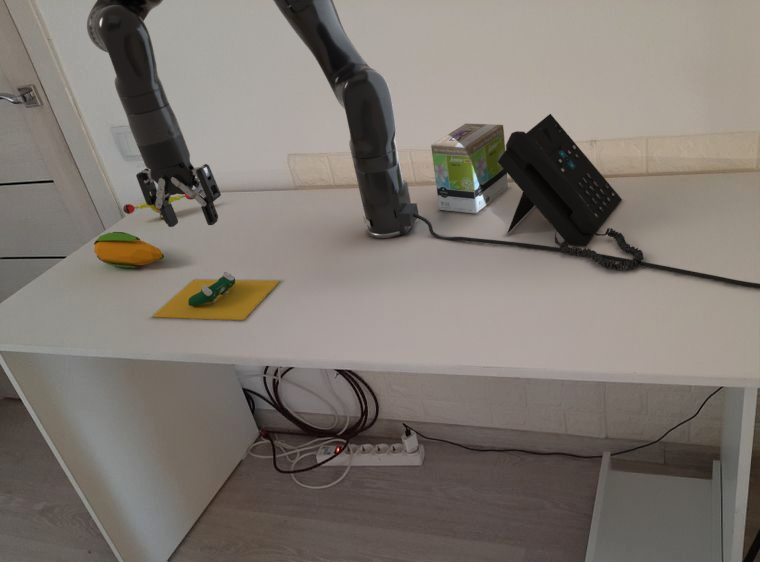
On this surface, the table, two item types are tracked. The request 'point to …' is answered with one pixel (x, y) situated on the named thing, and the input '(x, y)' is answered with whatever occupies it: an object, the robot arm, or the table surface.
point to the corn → (125, 250)
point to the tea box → (469, 167)
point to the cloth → (218, 301)
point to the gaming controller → (212, 291)
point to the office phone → (563, 189)
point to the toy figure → (130, 208)
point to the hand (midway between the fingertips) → (193, 224)
